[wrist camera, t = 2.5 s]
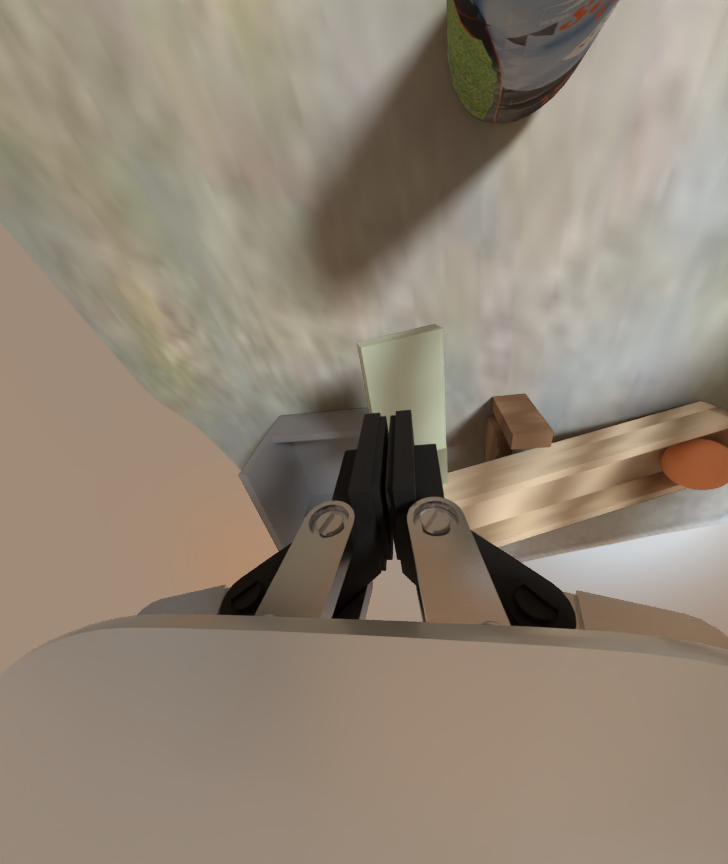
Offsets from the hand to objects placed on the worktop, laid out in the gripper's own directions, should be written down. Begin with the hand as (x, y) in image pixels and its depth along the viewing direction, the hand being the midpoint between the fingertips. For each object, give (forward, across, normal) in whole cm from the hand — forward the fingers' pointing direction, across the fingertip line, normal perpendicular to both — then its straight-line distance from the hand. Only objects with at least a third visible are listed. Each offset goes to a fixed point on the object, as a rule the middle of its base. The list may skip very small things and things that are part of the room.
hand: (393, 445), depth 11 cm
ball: (+10, -20, +10) cm, 25 cm away
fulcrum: (+13, -8, +10) cm, 19 cm away
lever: (+10, -10, +6) cm, 15 cm away
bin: (+13, +6, +10) cm, 18 cm away
